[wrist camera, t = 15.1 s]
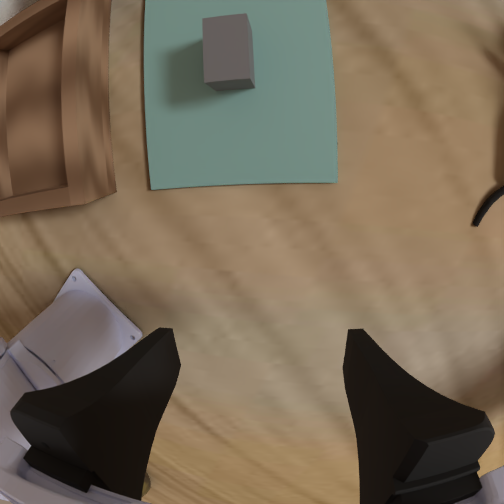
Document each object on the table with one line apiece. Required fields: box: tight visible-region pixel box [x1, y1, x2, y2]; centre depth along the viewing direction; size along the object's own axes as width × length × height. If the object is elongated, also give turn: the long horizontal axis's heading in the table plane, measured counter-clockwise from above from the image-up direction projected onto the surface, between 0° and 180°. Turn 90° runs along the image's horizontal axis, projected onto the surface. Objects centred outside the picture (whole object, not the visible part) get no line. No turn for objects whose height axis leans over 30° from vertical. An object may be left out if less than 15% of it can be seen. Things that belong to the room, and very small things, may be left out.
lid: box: [144, 0, 338, 190], centre depth 15 cm, size 16×12×4 cm
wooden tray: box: [0, 0, 117, 217], centre depth 14 cm, size 24×12×5 cm, turn 3°
